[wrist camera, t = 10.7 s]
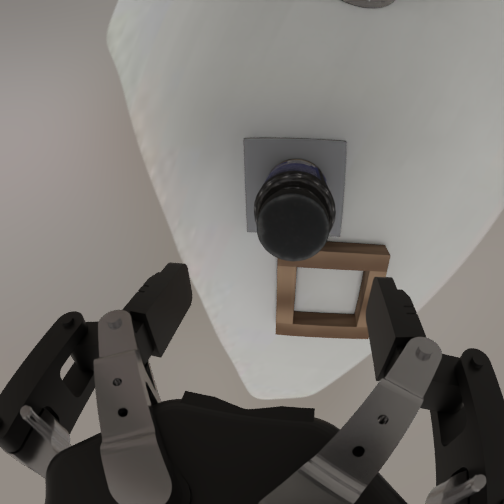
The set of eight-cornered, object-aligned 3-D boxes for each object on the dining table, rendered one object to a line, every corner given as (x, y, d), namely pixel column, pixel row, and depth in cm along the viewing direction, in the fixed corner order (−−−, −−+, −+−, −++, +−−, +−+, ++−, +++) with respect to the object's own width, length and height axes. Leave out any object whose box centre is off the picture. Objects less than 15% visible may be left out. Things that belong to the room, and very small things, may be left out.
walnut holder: (280, 238, 31) (277, 248, 28) (384, 245, 28) (390, 255, 26) (277, 321, 36) (275, 334, 34) (365, 326, 34) (368, 338, 32)
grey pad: (245, 138, 26) (243, 138, 25) (345, 141, 24) (346, 141, 24) (248, 229, 31) (247, 231, 30) (339, 233, 29) (339, 236, 28)
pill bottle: (254, 189, 28) (225, 230, 18) (293, 144, 25) (286, 159, 15) (299, 228, 29) (295, 287, 19) (340, 186, 26) (360, 228, 16)
